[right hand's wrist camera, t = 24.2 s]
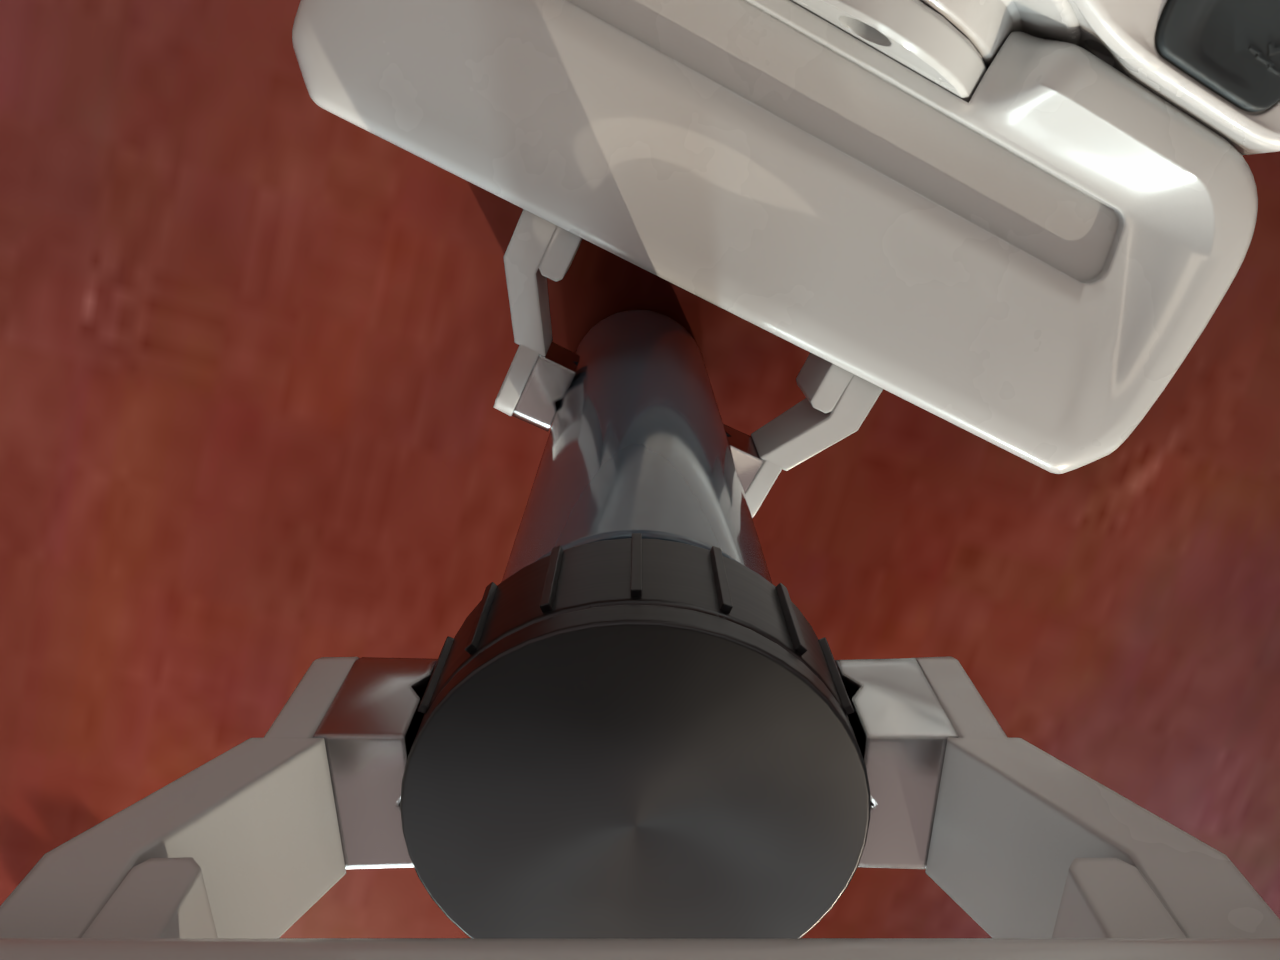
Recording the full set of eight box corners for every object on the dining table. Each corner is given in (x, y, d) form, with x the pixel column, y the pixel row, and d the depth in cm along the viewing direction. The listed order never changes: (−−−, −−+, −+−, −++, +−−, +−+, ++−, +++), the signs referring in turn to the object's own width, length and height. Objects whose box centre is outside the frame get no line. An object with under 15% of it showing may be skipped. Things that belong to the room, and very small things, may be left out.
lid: (432, 852, 11) (393, 982, 9) (434, 511, 9) (387, 592, 8) (799, 879, 11) (829, 1011, 10) (872, 548, 10) (924, 638, 8)
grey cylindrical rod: (716, 322, 26) (858, 628, 9) (690, 448, 27) (770, 910, 11) (582, 298, 25) (474, 568, 9) (563, 427, 27) (440, 867, 10)
